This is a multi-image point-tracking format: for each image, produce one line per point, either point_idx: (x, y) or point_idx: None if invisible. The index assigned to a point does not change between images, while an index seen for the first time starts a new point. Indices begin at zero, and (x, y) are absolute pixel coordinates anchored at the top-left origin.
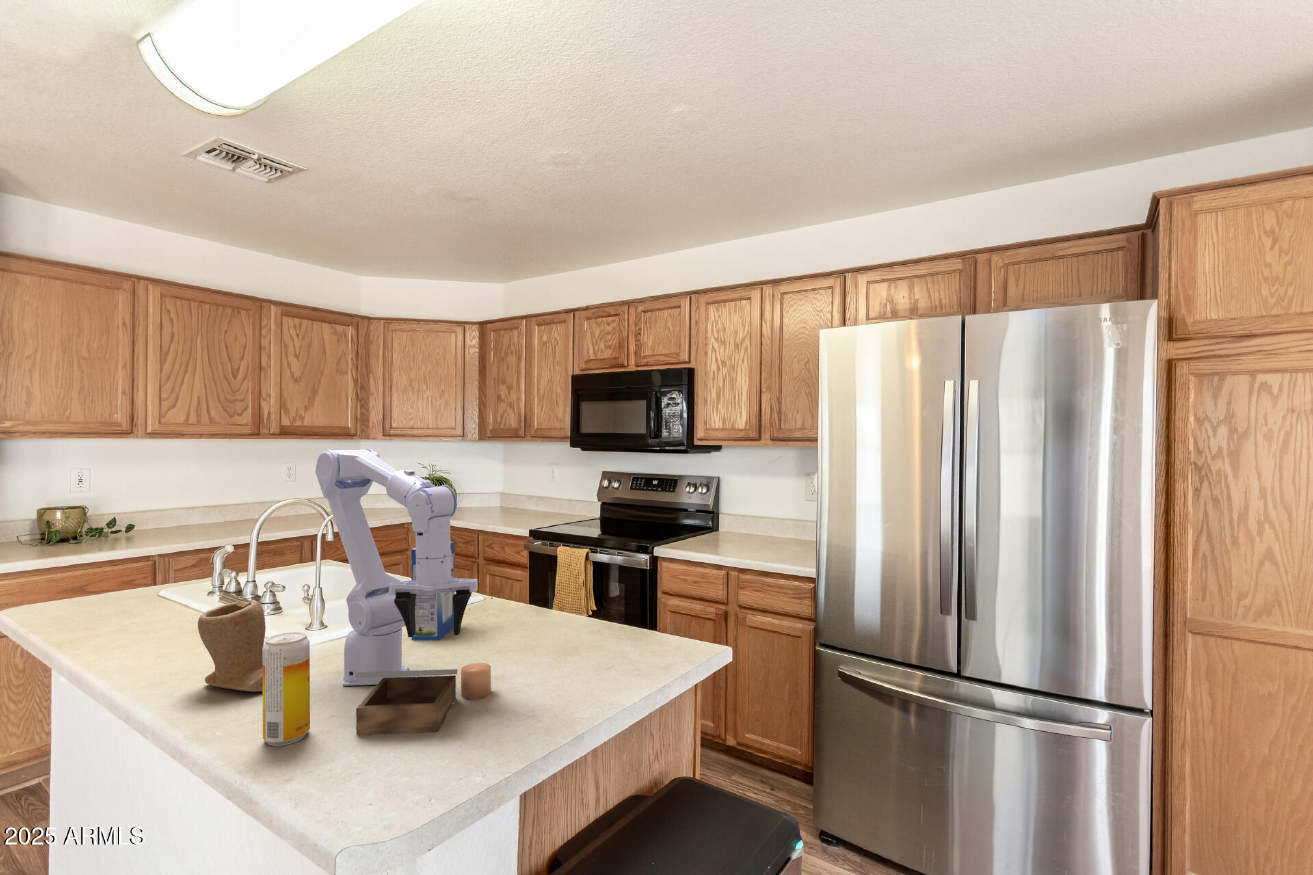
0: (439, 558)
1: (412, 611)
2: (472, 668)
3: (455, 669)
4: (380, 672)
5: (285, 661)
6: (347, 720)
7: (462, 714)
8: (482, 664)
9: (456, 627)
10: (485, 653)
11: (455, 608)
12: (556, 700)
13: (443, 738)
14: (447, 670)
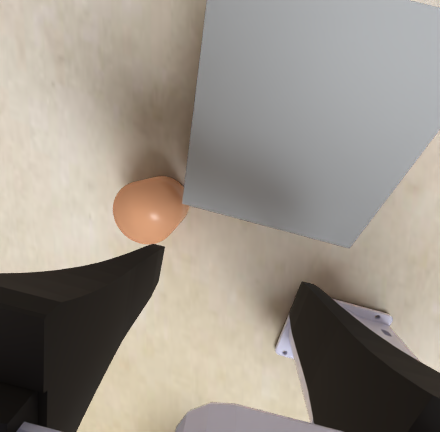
0: None
1: (328, 379)
2: (151, 214)
3: (184, 185)
4: (426, 7)
5: None
6: None
7: (186, 112)
8: (131, 230)
9: (144, 250)
10: (149, 367)
11: (98, 279)
12: (23, 119)
13: None
14: (196, 86)
